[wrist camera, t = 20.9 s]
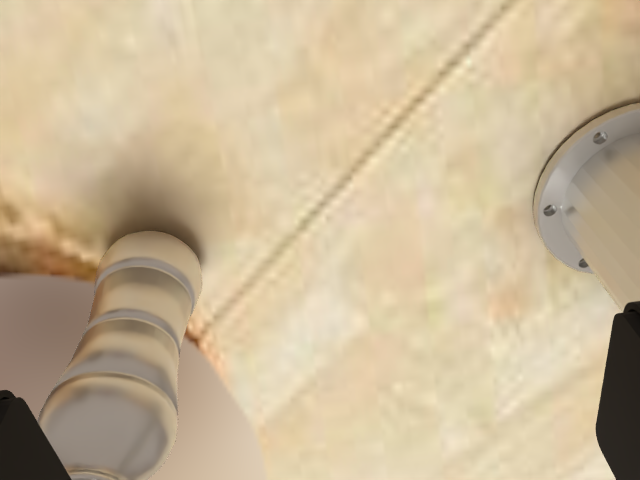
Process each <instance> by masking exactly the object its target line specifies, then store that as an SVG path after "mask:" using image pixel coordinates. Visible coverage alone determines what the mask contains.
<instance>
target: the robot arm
mask: <svg viewBox="0 0 640 480" xmlns="http://www.w3.org/2000/svg"><path fill="white" fill-rule="evenodd" d="M533 214H534V223H535V226H536V229H537V231H538V234H539V237H540V238H541V240H542V241H543V243H544V245H545V246H546V248H547V249H548V250H549V251H550V253H551V254H552V255H553V256H554V257H555V258H556V259H557V260H559V261H560V262H562V263H563V264H565V265H566V266H568V267H570V268H572V269H575V270H577V271H580V272H585V273H591V274H595V275H596V277H597V278H598V279H599V281H600V282H601V284H602V285H603V286H604V288H605V289H606V291H607V292H608V293H609V295H610V296H611V298H612V299H613V300H614V302H615V303H616V305H617V306H618V307H619V309H620V310H621V312H622V313H618V314H616V315H615V316H614V320H613V325H612V331H611V337H610V343H609V349H608V355H607V361H606V367H605V373H604V379H603V385H602V391H601V397H600V404H599V410H598V416H597V422H596V436H597V440H598V444H599V446H600V449H601V451H602V453H603V455H604V457H605V459H606V461H607V463H608V465H609V466H610V468H611V470H612V472H613V474H614V476H615V478H616V480H640V103H635V104H630V105H627V106H624V107H621V108H618V109H615V110H612V111H610V112H608V113H606V114H604V115H602V116H600V117H598V118H596V119H594V120H592V121H591V122H589V123H588V124H587V125H585V126H584V127H582V128H581V129H579V130H578V131H577V132H575V133H574V134H573V135H572V136H571V137H570V138H569V139H568V140H567V141H566V142H565V143H564V144H563V145H562V146H561V147H560V148H559V149H558V151H557V152H556V153H555V154H554V156H553V157H552V158H551V159H550V161H549V162H548V164H547V166H546V168H545V170H544V171H543V173H542V175H541V177H540V180H539V183H538V186H537V189H536V192H535V197H534V205H533ZM0 480H72V479H71V478H70V476H69V474H68V473H67V471H66V469H65V467H64V466H63V464H62V462H61V461H60V459H59V457H58V456H57V454H56V452H55V451H54V449H53V447H52V446H51V444H50V442H49V441H48V439H47V437H46V436H45V434H44V432H43V431H42V429H41V427H40V425H39V424H38V422H37V421H36V419H35V417H34V415H33V414H32V412H31V411H30V409H29V407H28V405H27V404H26V402H25V401H24V400H23V399H22V398H20V397H18V398H16V397H15V396H14V395H13V394H12V392H10V391H8V390H2V391H0Z"/></svg>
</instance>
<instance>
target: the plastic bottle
mask: <svg viewBox="0 0 640 480" xmlns="http://www.w3.org/2000/svg"><path fill="white" fill-rule="evenodd" d="M201 290H202V277H201V268H200V263H199V261H198V258H197V256H196V255H195V253H194V252H193V250H192V249H191V248H190V247H189V246H188V245H187V244H185V243H184V242H182V241H181V240H179V239H178V238H176V237H174V236H172V235H170V234H167V233H164V232H158V231H141V232H135V233H131V234H128V235H126V236H123V237H122V238H120V239H119V240H117V241H116V242H115V243H114V244H113V245H112V246H111V247H110V248H109V250H108V251H107V252H106V253H105V255H104V256H103V258H102V259H101V261H100V263H99V265H98V269H97V273H96V279H95V291H94V293H95V294H94V295H95V296H94V300H93V305H92V308H91V312H90V316H89V320H88V325H87V327H86V329H85V331H84V333H83V336H82V339H81V341H80V342H79V344H78V346H77V348H76V350H75V353H74V355H73V357H72V359H71V361H70V363H69V364H68V366H67V368H66V369H65V371H64V372H63V374H62V375H61V377H60V379H59V380H58V382H57V383H56V385H55V387H54V388H53V390H52V392H51V393H50V395H49V396H48V398H47V399H46V401H45V404H44V406H43V408H42V409H41V411H40V414H39V417H38V424H39V425H40V427H41V429H42V431H43V432H44V434H45V436H46V437H47V439H48V441H49V442H50V444H51V446H52V447H53V449H54V451H55V452H56V454H57V456H58V457H59V459H60V461H61V462H62V464H63V466H64V467H65V469H66V471H67V473H68V474H69V476H70V478H71V479H72V480H148V479H149V478H150V477H151V476H152V475H154V474H155V473H156V472H157V471H158V470H159V469H160V468H161V467H162V465H163V464H164V463H165V461H166V460H167V458H168V456H169V454H170V452H171V450H172V448H173V446H174V444H175V442H176V436H177V424H178V417H177V416H178V405H177V404H178V400H177V375H178V366H179V357H180V347H181V344H182V340H183V337H184V334H185V331H186V327H187V324H188V321H189V318H190V316H191V314H192V313H193V311H194V309H195V306H196V304H197V301H198V299H199V296H200V293H201Z"/></svg>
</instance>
